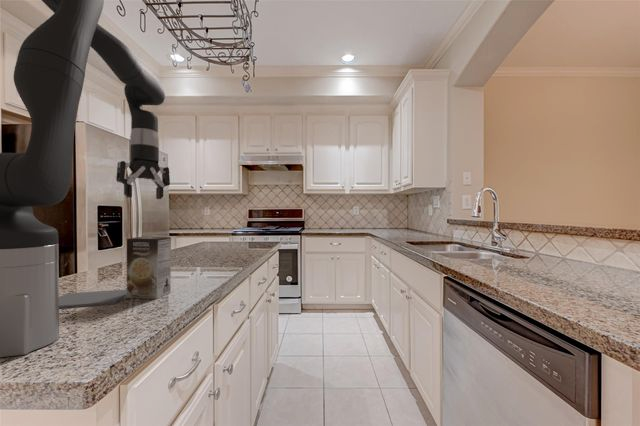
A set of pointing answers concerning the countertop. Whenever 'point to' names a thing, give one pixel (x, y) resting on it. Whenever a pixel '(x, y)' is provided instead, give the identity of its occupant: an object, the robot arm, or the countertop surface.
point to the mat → (91, 298)
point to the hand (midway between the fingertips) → (144, 198)
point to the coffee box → (148, 267)
